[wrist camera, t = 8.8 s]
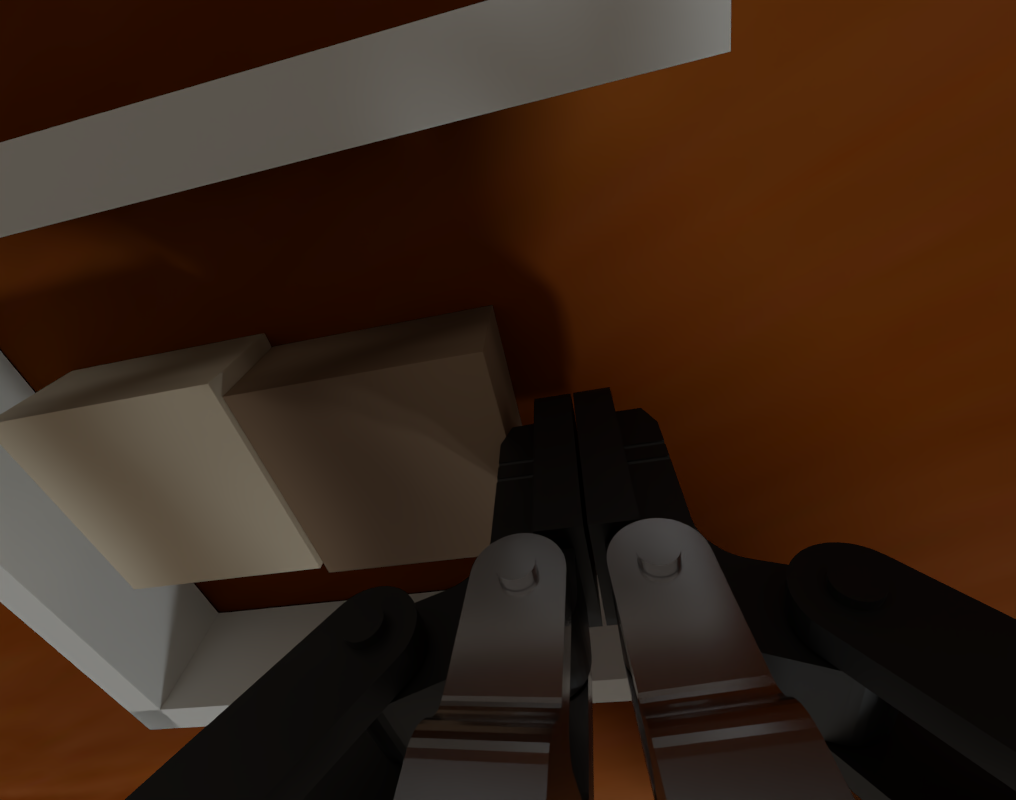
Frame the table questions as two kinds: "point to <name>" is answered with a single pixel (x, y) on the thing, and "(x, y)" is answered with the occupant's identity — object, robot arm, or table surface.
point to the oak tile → (160, 467)
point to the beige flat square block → (385, 436)
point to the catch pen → (244, 150)
